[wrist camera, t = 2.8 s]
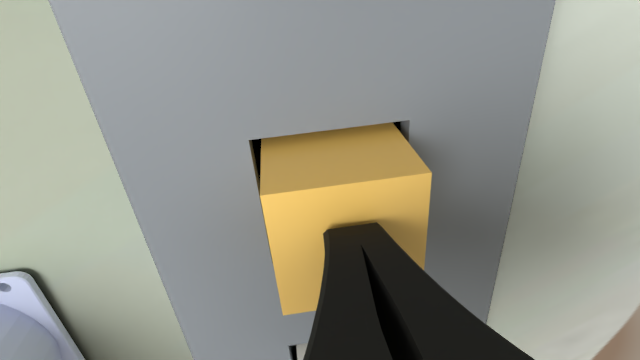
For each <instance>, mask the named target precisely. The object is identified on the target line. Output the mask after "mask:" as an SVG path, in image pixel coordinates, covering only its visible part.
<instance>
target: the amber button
mask: <svg viewBox="0 0 640 360" xmlns="http://www.w3.org/2000/svg"><path fill="white" fill-rule="evenodd" d="M431 178H432V172H431V171H430V170H429V168H428V167H427V166H426V164H425V163H424V162H423V161H422V159H421V158H420V157H419V156H418V154H417V153H416V152H415V150H414V149H413V148H412V147H411V145H410V144H409V143H408V141H407V140H406V139H405V138H404V136H403V135H402V134H401V133H400V131H399V130H398V129H397V127H396V126H395V125H394V124H393V122H390V123H382V124H374V125H366V126H358V127H350V128H342V129H334V130H326V131H318V132H310V133H302V134H294V135H286V136H278V137H270V138H262V139H261V172H260V199H261V204H262V209H263V214H264V219H265V225H266V230H267V235H268V240H269V245H270V251H271V256H272V261H273V266H274V271H275V277H276V282H277V287H278V292H279V297H280V303H281V308H282V313H283V316H284V315H290V314H296V313H303V312H309V311H316V309H317V305H318V300H319V295H320V289H321V283H322V276H323V269H324V258H325V249H324V239H323V233H324V232H325V231H326V230H327V229H333V228H340V227H347V226H354V225H361V224H368V223H375V222H377V223H378V224H380V225H381V226H382V227H383V228H384V230H385V231H386V232H387V233H388V234H389V235H390V236H391V237H392V238H393V240H394V241H395V242H396V243H397V244H398V245H399V246H400V247H401V248H402V249H403V250H404V251H405V252H406V253H407V254H408V255H409V256H410V257H411V258H412V259H413V260H414V261H415V262H416V263H417V264H418V265H419V266H420V267H421V268H422V269H423V270H424V265H425V252H426V240H427V228H428V215H429V203H430V190H431Z"/></svg>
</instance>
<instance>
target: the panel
mask: <svg viewBox="0 0 640 360" xmlns="http://www.w3.org/2000/svg"><path fill="white" fill-rule="evenodd" d="M48 1H49V3H50V6H51V8H52V11H53V13H54V16H55V18H56V21H57V23H58V25H59V28H60V30H61V33H62V35H63V38H64V40H65V43H66V45H67V48H68V50H69V53H70V55H71V58H72V60H73V63H74V65H75V67H76V70H77V72H78V75H79V77H80V80H81V82H82V85H83V87H84V90H85V92H86V95H87V97H88V100H89V102H90V105H91V107H92V109H93V112H94V114H95V117H96V119H97V122H98V124H99V127H100V129H101V132H102V134H103V137H104V139H105V142H106V144H107V147H108V149H109V151H110V154H111V156H112V159H113V161H114V164H115V166H116V169H117V171H118V174H119V176H120V179H121V181H122V184H123V186H124V189H125V191H126V193H127V196H128V198H129V201H130V203H131V206H132V208H133V211H134V213H135V216H136V218H137V221H138V223H139V226H140V228H141V231H142V233H143V235H144V238H145V240H146V243H147V245H148V248H149V250H150V253H151V255H152V258H153V260H154V263H155V265H156V268H157V270H158V273H159V275H160V277H161V280H162V282H163V285H164V287H165V290H166V292H167V295H168V297H169V300H170V302H171V305H172V307H173V310H174V312H175V315H176V317H177V319H178V322H179V324H180V327H181V329H182V332H183V334H184V337H185V339H186V342H187V344H188V347H189V349H190V352H191V354H192V357H193V359H194V360H297V348H296V346H293V347H291V345H297V344H304V343H308V341H309V338H310V334H311V330H312V326H313V322H314V318H315V313H316V311H309V312H303V313H296V314H290V315H284V316H283V313H282V308H281V303H280V297H279V292H278V287H277V282H276V277H275V271H274V266H273V261H272V256H271V251H270V245H269V240H268V235H267V230H266V225H265V219H264V214H263V209H262V204H261V199H260V182H259V177H258V171H257V166H256V161H255V155H254V150H253V145H252V140H254V139H262V138H270V137H278V136H286V135H294V134H302V133H310V132H318V131H326V130H334V129H342V128H350V127H358V126H366V125H374V124H382V123H390V122H398V121H401V134H402V135H403V136H404V138H405V139H406V140H407V141H408V143H409V144H410V145H411V147H412V148H413V149H414V150H415V152H416V153H417V154H418V156H419V157H420V158H421V159H422V161H423V162H424V163H425V164H426V166H427V167H428V168H429V170H430V171H431V172H432V178H431V190H430V203H429V215H428V228H427V240H426V252H425V265H424V271H425V272H426V273H427V274H428V275H429V276H430V277H431V278H432V279H434V280H435V281H436V282H437V283H438V284H439V285H440V286H441V287H442V288H443V289H444V290H446V291H447V292H448V293H449V294H450V295H451V296H452V297H454V298H455V299H456V300H457V301H458V302H459V303H461V304H462V305H463V306H464V307H465V308H466V309H468V310H469V311H470V312H471V313H473V314H474V315H475V316H476V317H477V318H479V319H480V320H481V321H483V322H484V323H485V324H486V322H487V317H488V313H489V308H490V303H491V299H492V294H493V289H494V285H495V280H496V275H497V271H498V266H499V261H500V257H501V252H502V247H503V243H504V238H505V233H506V229H507V224H508V219H509V215H510V210H511V205H512V201H513V196H514V191H515V187H516V182H517V177H518V173H519V168H520V163H521V159H522V154H523V149H524V145H525V140H526V136H527V131H528V126H529V122H530V117H531V112H532V108H533V103H534V98H535V94H536V89H537V84H538V80H539V75H540V70H541V66H542V61H543V56H544V52H545V47H546V42H547V38H548V33H549V28H550V24H551V19H552V14H553V10H554V5H555V0H48Z"/></svg>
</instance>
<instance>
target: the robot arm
mask: <svg viewBox="0 0 640 360" xmlns="http://www.w3.org/2000/svg"><path fill="white" fill-rule="evenodd" d="M323 239H324V249H325V258H324V269H323V276H322V283H321V289H320V295H319V300H318V305H317V309H316V313H315V318H314V322H313V326H312V330H311V334H310V338H309V341H308V345H307V348H306V352H305V355H304V358H303V360H534V359H533V358H532V357H530V356H529V355H527V354H526V353H524V352H523V351H522V350H520V349H519V348H517V347H516V346H514V345H513V344H512V343H510V342H509V341H508V340H506V339H505V338H504V337H502V336H501V335H500V334H498V333H497V332H495V331H494V330H493V329H491V328H490V327H489V326H488V325H486V324H485V323H484V322H483V321H481V320H480V319H479V318H477V317H476V316H475V315H474V314H473V313H471V312H470V311H469V310H468V309H466V308H465V307H464V306H463V305H462V304H461V303H459V302H458V301H457V300H456V299H455V298H454V297H452V296H451V295H450V294H449V293H448V292H447V291H446V290H444V289H443V288H442V287H441V286H440V285H439V284H438V283H437V282H436V281H435V280H434V279H432V278H431V277H430V276H429V275H428V274H427V273H426V272H425V271H424V270H423V269H422V268H421V267H420V266H419V265H418V264H417V263H416V262H415V261H414V260H413V259H412V258H411V257H410V256H409V255H408V254H407V253H406V252H405V251H404V250H403V249H402V248H401V247H400V246H399V245H398V244H397V243H396V242H395V241H394V240H393V238H392V237H391V236H390V235H389V234H388V233H387V232H386V231H385V230H384V228H383V227H382V226H381V225H380V224H378V223H377V222H375V223H368V224H361V225H354V226H347V227H340V228H333V229H327V230H326V231H325V232H324V233H323ZM5 283H6V284H5ZM0 360H85V359H84V357H83V355H82V354H81V352H80V351H79V349H78V348H77V346H76V345H75V343H74V341H73V340H72V338H71V337H70V335H69V334H68V332H67V331H66V329H65V327H64V326H63V324H62V323H61V321H60V320H59V318H58V316H57V315H56V313H55V312H54V310H53V309H52V307H51V306H50V304H49V302H48V301H47V299H46V298H45V296H44V295H43V293H42V292H41V290H40V288H39V287H38V285H37V284H36V282H35V281H34V279H33V278H32V277H31V276H30V275H29V274H27V273H25V272H21V271H15V272H8V273H0Z"/></svg>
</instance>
